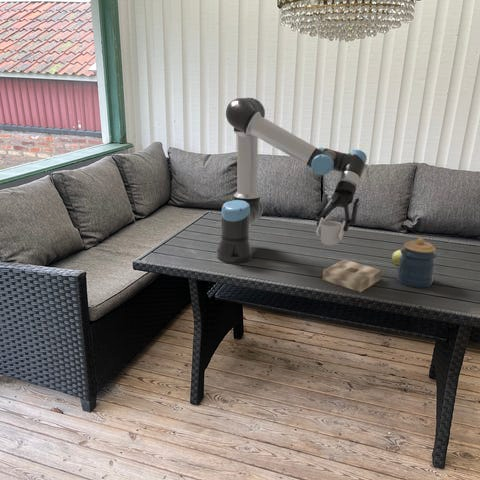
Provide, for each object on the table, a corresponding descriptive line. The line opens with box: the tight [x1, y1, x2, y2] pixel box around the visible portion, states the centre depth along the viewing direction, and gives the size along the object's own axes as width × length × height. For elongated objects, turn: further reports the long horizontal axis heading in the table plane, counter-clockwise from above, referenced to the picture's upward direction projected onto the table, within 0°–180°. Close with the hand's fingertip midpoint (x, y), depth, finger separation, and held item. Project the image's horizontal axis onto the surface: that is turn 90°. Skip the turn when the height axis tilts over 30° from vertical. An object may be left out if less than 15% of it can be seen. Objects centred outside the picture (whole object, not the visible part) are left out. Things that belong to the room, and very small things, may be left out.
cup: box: [320, 220, 343, 247], centre depth 170 cm, size 11×8×8 cm
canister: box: [396, 237, 438, 289], centre depth 172 cm, size 13×13×18 cm
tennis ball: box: [391, 249, 402, 266], centre depth 191 cm, size 6×7×7 cm
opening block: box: [322, 258, 382, 293], centre depth 173 cm, size 16×16×4 cm
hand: (328, 235), depth 167 cm, fingers closed on cup, 8 cm apart
